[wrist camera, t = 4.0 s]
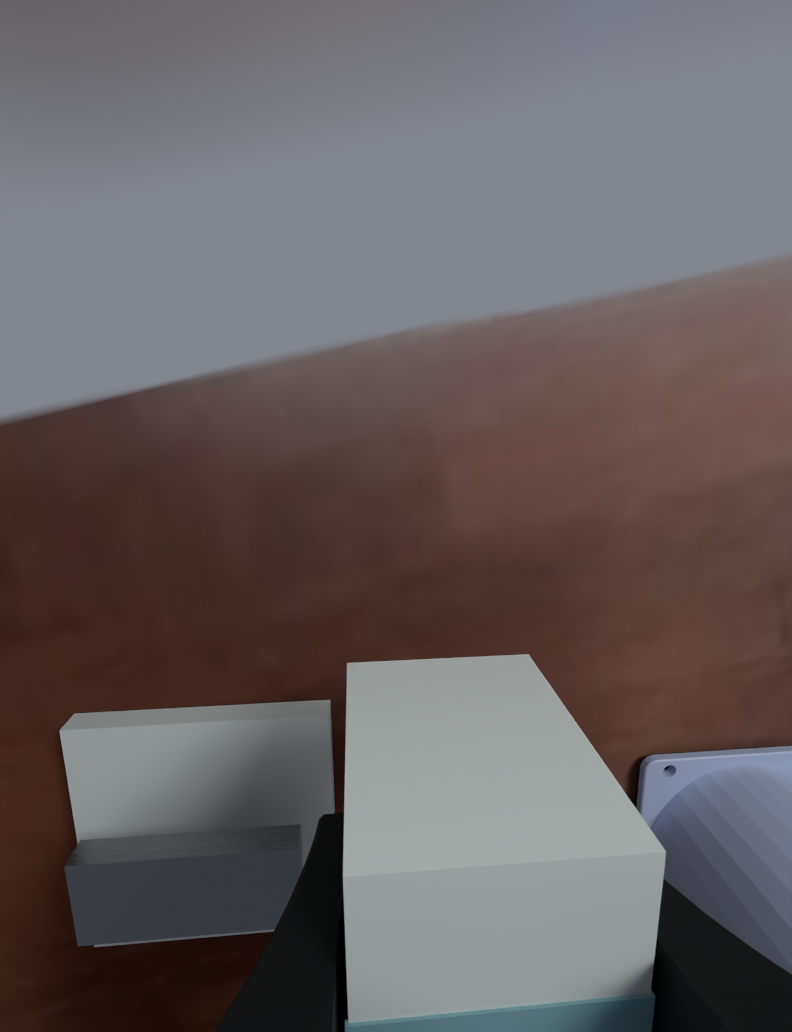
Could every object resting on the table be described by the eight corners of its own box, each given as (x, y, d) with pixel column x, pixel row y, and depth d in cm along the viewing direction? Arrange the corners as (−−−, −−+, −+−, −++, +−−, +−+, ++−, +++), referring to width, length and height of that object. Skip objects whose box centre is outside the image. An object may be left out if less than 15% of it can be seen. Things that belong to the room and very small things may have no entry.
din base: (330, 699, 20) (329, 715, 19) (338, 902, 22) (338, 925, 21) (74, 713, 19) (59, 730, 18) (106, 921, 21) (94, 947, 20)
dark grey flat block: (300, 824, 18) (297, 848, 17) (304, 898, 18) (302, 926, 17) (80, 840, 17) (64, 866, 16) (93, 916, 18) (77, 946, 17)
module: (530, 654, 13) (671, 854, 7) (519, 887, 15) (631, 1209, 9) (344, 663, 13) (338, 880, 7) (353, 901, 14) (354, 1247, 9)
